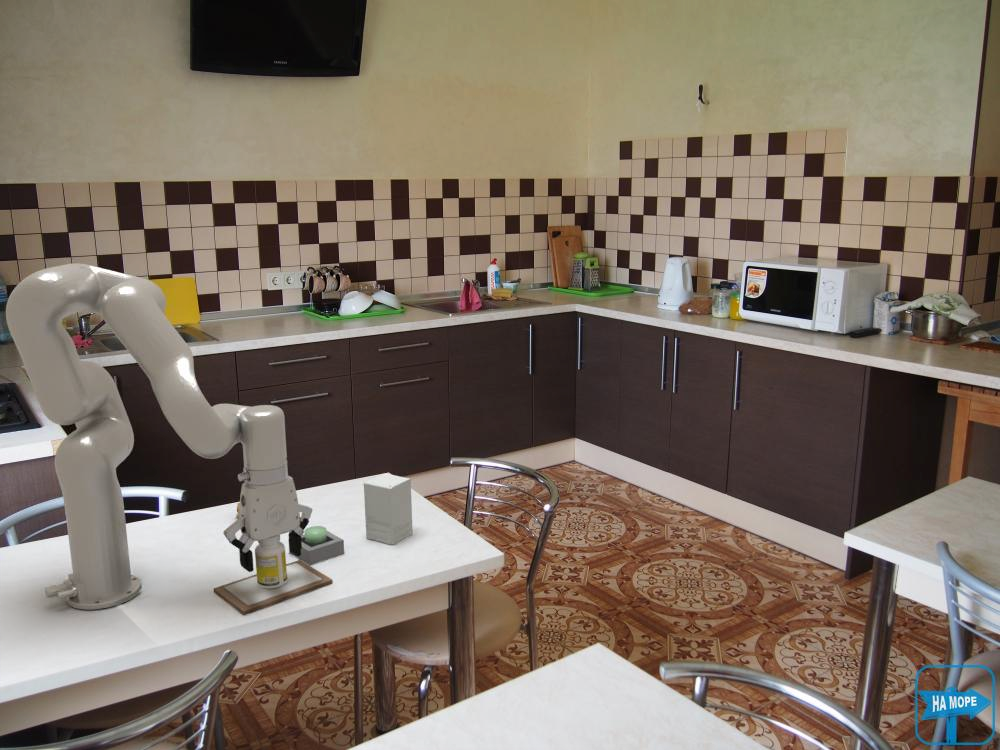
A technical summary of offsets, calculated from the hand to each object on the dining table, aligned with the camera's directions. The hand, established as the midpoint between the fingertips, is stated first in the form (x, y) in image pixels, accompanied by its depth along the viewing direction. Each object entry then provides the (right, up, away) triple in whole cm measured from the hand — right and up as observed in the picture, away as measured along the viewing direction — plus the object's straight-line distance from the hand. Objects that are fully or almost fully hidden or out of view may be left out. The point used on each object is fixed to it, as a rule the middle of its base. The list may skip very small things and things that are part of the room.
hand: (272, 561), depth 159 cm
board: (0, -5, +1) cm, 5 cm away
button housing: (+5, -2, +16) cm, 17 cm away
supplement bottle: (0, -4, +1) cm, 5 cm away
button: (+5, +1, +15) cm, 16 cm away
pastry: (-13, +2, +36) cm, 38 cm away
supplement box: (+19, 0, +25) cm, 31 cm away
